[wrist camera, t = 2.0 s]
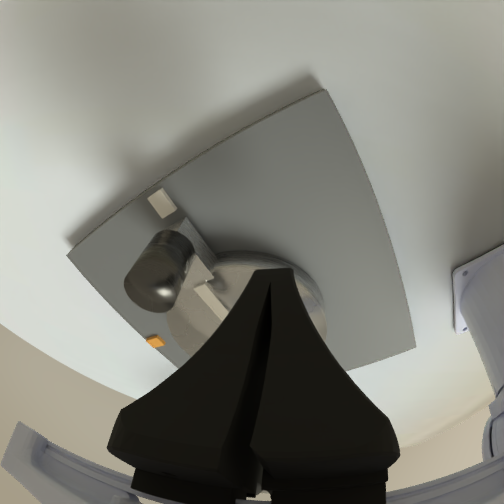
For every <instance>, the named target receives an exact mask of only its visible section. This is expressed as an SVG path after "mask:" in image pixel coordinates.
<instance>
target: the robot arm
mask: <svg viewBox="0 0 504 504" xmlns="http://www.w3.org/2000/svg"><path fill="white" fill-rule="evenodd" d="M464 271H465V272H464ZM452 277H453V292H454V323H455V330H454V331H455V333H456V334H457V335H459V334H462V333H464V332H466V331H468V330H469V331H470V333H471V335H472V338H473V340H474V342H475V345H476V347H477V349H478V352H479V354H480V356H481V359H482V361H483V364H484V366H485V369H486V372H487V374H488V377H489V380H490V383H491V386H492V388H493V391H494V394H495V398H496V399H495V400H494V401H493V402H492V403H491V404H489V409H490V413H491V416H490V418H489V419H488V421H487V422H486V425H485V428H484V433H483V439H482V455H483V462H481V463H479V464H476V465H474V466H472V467H469V468H467V469H464V470H462V471H459V472H456V473H454V474H451V475H448V476H445V477H442V478H439V479H436V480H433V481H430V482H426V483H423V484H419V485H415V486H412V487H408V488H404V489H399V490H395V491H390V492H386V483H385V482H386V481H388V469H387V468H389V467H390V466H391V465H392V464H394V463H395V462H396V461H397V459H398V458H399V457H400V449H399V444H398V441H397V437H396V434H395V432H394V429H393V427H392V425H391V422H390V420H389V418H388V417H387V416H386V415H385V414H384V413H383V412H382V411H381V410H379V409H378V408H377V407H376V406H375V405H374V404H373V403H372V401H371V400H370V399H369V398H368V397H367V396H366V395H365V394H364V393H363V392H362V391H361V390H360V389H359V387H358V386H357V385H356V384H355V383H354V382H353V380H352V379H351V378H350V377H349V375H348V374H347V373H346V372H345V370H344V369H343V368H342V367H341V365H340V364H339V363H338V361H337V360H336V359H335V357H334V356H333V354H332V353H331V351H330V350H329V349H328V347H327V345H326V344H325V342H324V341H323V339H322V338H321V336H320V334H319V333H318V331H317V329H316V327H315V325H314V324H313V322H312V320H311V318H310V316H309V314H308V312H307V310H306V308H305V305H304V303H303V301H302V299H301V296H300V294H299V291H298V288H297V285H296V282H295V278H294V270H293V269H292V268H274V269H257V270H255V271H254V272H253V274H252V276H251V278H250V280H249V282H248V283H247V285H246V287H245V289H244V290H243V292H242V294H241V295H240V297H239V298H238V300H237V301H236V303H235V304H234V306H233V308H232V309H231V311H230V312H229V313H228V315H227V316H226V317H225V319H224V320H223V321H222V323H221V324H220V325H219V327H218V328H217V329H216V331H215V332H214V333H213V334H212V335H211V337H210V338H209V339H208V340H207V341H206V342H205V343H204V344H203V346H202V347H201V348H200V349H199V350H198V351H197V352H196V353H195V354H194V355H193V356H192V357H191V358H190V359H189V360H188V361H187V362H186V363H185V364H184V365H182V366H181V367H180V368H179V369H178V370H177V371H176V372H175V373H173V374H172V375H171V376H169V377H168V378H167V379H166V380H164V381H163V382H162V383H161V384H159V385H158V386H157V387H156V388H154V389H153V390H151V391H150V392H149V393H147V394H145V395H144V396H142V397H141V398H139V399H138V400H136V401H134V402H133V403H131V404H130V405H128V406H126V407H125V408H123V409H121V411H120V413H119V415H118V417H117V419H116V422H115V425H114V427H113V430H112V433H111V436H110V439H109V442H108V446H107V449H108V451H109V452H110V453H111V454H112V455H114V456H115V457H117V458H119V459H121V460H122V461H124V462H126V463H127V464H129V465H131V466H133V467H135V468H136V469H135V473H134V476H133V477H131V476H128V475H126V474H122V473H120V472H117V471H114V470H112V469H109V468H106V467H103V466H101V465H99V464H96V463H94V462H91V461H89V460H87V459H85V458H82V457H80V456H78V455H76V454H74V453H71V452H69V451H67V450H66V449H64V448H62V447H60V446H58V445H56V444H54V443H52V442H50V441H48V440H47V439H46V438H45V437H44V436H42V435H41V434H39V433H38V432H36V431H35V430H33V429H31V428H30V427H28V426H26V425H25V424H23V423H21V422H20V421H19V422H18V423H17V425H16V427H15V429H14V432H13V434H12V436H11V439H10V441H9V444H8V446H7V449H6V451H5V454H4V456H3V459H2V462H1V466H2V467H3V468H4V469H5V470H6V471H8V472H9V473H10V474H11V475H12V476H13V477H14V478H15V479H16V480H18V481H19V482H20V483H21V484H22V485H23V486H24V487H25V488H26V489H27V490H28V491H29V492H30V493H31V494H32V495H33V496H34V497H35V498H36V499H37V500H39V501H40V502H41V503H42V504H142V503H141V502H140V501H139V499H138V497H137V496H140V497H143V498H146V499H149V500H153V501H156V502H160V503H163V504H504V244H503V245H501V246H499V247H498V248H496V249H494V250H492V251H490V252H488V253H486V254H484V255H483V256H481V257H479V258H477V259H475V260H473V261H471V262H469V263H467V264H465V265H463V266H461V267H458V268H457V269H455V270H454V272H453V274H452ZM263 490H265V491H268V492H269V493H270V495H271V499H272V500H271V501H254V500H246V497H252V498H255V497H256V495H258V494H259V493H261V492H262V491H263ZM136 495H137V496H136Z"/></svg>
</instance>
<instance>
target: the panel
mask: <svg viewBox="0 0 504 504" xmlns="http://www.w3.org/2000/svg"><path fill="white" fill-rule="evenodd" d="M185 217H187V218H188V220H189V221H190V222H191V224H192V225H193V226H194V228H195V229H196V231H197V232H198V233H199V235H200V236H201V237H202V239H203V240H204V241H205V243H206V244H207V245H208V247H209V248H210V249H211V251H212V252H213V253H214V254H218V253H222V252H228V251H255V252H261V253H266V254H270V255H273V256H276V257H279V258H282V259H284V260H286V261H288V262H290V263H292V264H294V265H295V266H297V267H299V268H300V269H302V270H303V271H304V272H305V273H306V274H308V275H309V276H310V277H311V279H312V280H313V281H314V282H315V283H316V285H317V286H318V288H319V289H320V292H321V294H322V296H323V300H324V305H325V314H326V324H327V336H326V340H325V344H326V345H327V347H328V349H329V350H330V351H331V353H332V354H333V356H334V357H335V359H336V360H337V361H338V363H339V364H340V365H341V367H342V368H343V369H344V370H345V371H348V370H352V369H355V368H358V367H362V366H365V365H368V364H371V363H374V362H377V361H380V360H383V359H386V358H389V357H392V356H394V355H397V354H400V353H403V352H405V351H408V350H410V349H413V348H416V342H415V337H414V331H413V326H412V321H411V316H410V312H409V307H408V303H407V299H406V294H405V290H404V286H403V282H402V278H401V275H400V271H399V267H398V264H397V260H396V257H395V253H394V250H393V247H392V244H391V240H390V237H389V234H388V231H387V228H386V225H385V222H384V219H383V216H382V213H381V210H380V208H379V205H378V202H377V199H376V197H375V194H374V191H373V189H372V186H371V184H370V181H369V179H368V176H367V174H366V171H365V169H364V166H363V164H362V162H361V159H360V157H359V155H358V152H357V150H356V148H355V146H354V143H353V141H352V139H351V137H350V135H349V133H348V131H347V128H346V126H345V124H344V122H343V120H342V118H341V116H340V114H339V112H338V110H337V108H336V106H335V104H334V103H333V101H332V99H331V97H330V95H329V93H328V91H327V90H325V89H322V90H320V91H318V92H316V93H313V94H311V95H309V96H307V97H305V98H303V99H300V100H298V101H296V102H294V103H292V104H290V105H288V106H286V107H284V108H282V109H280V110H278V111H276V112H274V113H272V114H270V115H268V116H266V117H264V118H262V119H261V120H259V121H257V122H255V123H253V124H251V125H249V126H248V127H246V128H244V129H242V130H240V131H239V132H237V133H235V134H233V135H232V136H230V137H228V138H226V139H225V140H223V141H221V142H220V143H218V144H216V145H215V146H213V147H211V148H210V149H208V150H206V151H205V152H203V153H201V154H200V155H198V156H197V157H195V158H194V159H192V160H190V161H189V162H187V163H186V164H184V165H183V166H181V167H180V168H178V169H177V170H175V171H174V172H172V173H171V174H169V175H168V176H166V177H165V178H163V179H162V180H160V181H159V182H157V183H156V184H154V185H153V186H152V187H150V188H149V189H147V190H146V191H145V192H143V193H142V194H140V195H139V196H138V197H136V198H135V199H134V200H132V201H131V202H130V203H128V204H127V205H126V206H124V207H123V208H122V209H120V210H119V211H118V212H116V213H115V214H114V215H112V216H111V217H110V218H109V219H107V220H106V221H105V222H104V223H102V224H101V225H100V226H99V227H97V228H96V229H95V230H94V231H93V232H91V233H90V234H89V235H88V236H87V237H85V238H84V239H83V240H82V241H81V242H79V243H78V244H77V245H76V246H75V247H74V248H73V249H72V250H71V251H70V252H69V253H68V254H67V255H66V256H67V257H68V258H69V259H70V261H71V262H72V263H73V264H74V265H75V267H76V268H77V269H78V270H79V271H80V272H81V274H82V275H83V276H84V277H85V278H86V279H87V280H88V281H89V283H90V284H91V285H92V286H93V287H94V288H95V289H96V290H97V291H98V293H99V294H100V295H101V296H102V297H103V298H104V299H105V300H106V301H107V302H108V303H109V304H110V305H111V306H112V307H113V308H114V309H115V310H116V311H117V312H118V313H119V314H120V315H121V316H122V317H123V318H124V319H125V320H126V321H127V322H128V323H129V324H130V325H131V326H132V327H133V328H134V329H135V330H136V331H137V332H138V333H139V334H140V335H141V336H142V337H143V338H144V339H146V341H147V342H148V343H149V344H150V345H151V346H152V347H153V348H155V349H157V350H158V351H159V352H160V353H161V354H162V355H163V356H165V357H166V358H167V359H168V360H169V361H170V362H172V363H173V364H174V365H175V366H176V367H177V368H180V367H181V366H182V365H184V364H185V363H186V362H187V361H188V360H189V359H190V358H191V356H190V355H189V354H188V353H186V352H185V351H184V350H183V349H182V348H181V347H180V346H179V345H178V343H177V342H176V341H175V339H174V338H173V336H172V334H171V332H170V330H169V327H168V323H167V312H164V313H154V312H150V311H147V310H144V309H142V308H141V307H139V306H137V305H136V304H135V303H134V302H133V301H132V300H131V299H130V298H129V297H128V295H127V293H126V291H125V289H124V279H125V277H126V275H127V274H128V272H129V271H130V269H131V268H132V266H133V265H134V263H135V262H136V261H137V259H138V258H139V256H140V255H141V253H142V252H143V251H144V249H145V248H146V246H147V245H148V243H149V242H150V241H151V239H152V238H153V237H154V235H155V234H156V233H158V232H160V231H162V230H164V229H166V228H167V227H169V226H171V225H173V224H174V223H176V222H178V221H180V220H181V219H183V218H185Z"/></svg>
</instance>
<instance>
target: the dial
mask: <svg viewBox="0 0 504 504" xmlns="http://www.w3.org/2000/svg"><path fill="white" fill-rule="evenodd" d="M274 268H292V269H293V270H294V278H295V282H296V285H297V288H298V291H299V294H300V296H301V299H302V301H303V303H304V305H305V308H306V310H307V312H308V314H309V316H310V318H311V320H312V322H313V324H314V325H315V327H316V329H317V331H318V333H319V334H320V336H321V338H322V339H323V341H324V342H325V340H326V336H327V324H326V314H325V305H324V300H323V296H322V294H321V292H320V289H319V288H318V286H317V285H316V283H315V282H314V281H313V280H312V279H311V277H310V276H309V275H308V274H306V273H305V272H304V271H303V270H302V269H300V268H299V267H297V266H295V265H294V264H292V263H290V262H288V261H286V260H284V259H282V258H279V257H276V256H273V255H270V254H266V253H261V252H255V251H228V252H222V253H218V254H214V253H213V252H212V251H211V249H210V248H209V247H208V245H207V244H206V243H205V241H204V240H203V239H202V237H201V236H200V235H199V233H198V232H197V231H196V229H195V228H194V226H193V225H192V224H191V222H190V221H189V220H188V218H187V217H185V218H183V219H181V220H180V221H178V222H176V223H174V224H173V225H171V226H169V227H167V228H166V229H164V230H162V231H160V232H158V233H156V234H155V235H154V237H153V238H152V239H151V241H150V242H149V243H148V245H147V246H146V248H145V249H144V251H143V252H142V253H141V255H140V256H139V258H138V259H137V261H136V262H135V263H134V265H133V266H132V268H131V269H130V271H129V272H128V274H127V275H126V277H125V279H124V289H125V291H126V293H127V295H128V297H129V298H130V299H131V300H132V301H133V302H134V303H135V304H136V305H137V306H139V307H141V308H142V309H144V310H147V311H150V312H154V313H164V312H167V323H168V327H169V330H170V332H171V334H172V336H173V338H174V339H175V341H176V342H177V343H178V345H179V346H180V347H181V348H182V349H183V350H184V351H185V352H186V353H188V354H189V355H190V356H191V357H192V356H193V355H194V354H195V353H196V352H197V351H198V350H199V349H200V348H201V347H202V346H203V344H204V343H205V342H206V341H207V340H208V339H209V338H210V337H211V335H212V334H213V333H214V332H215V331H216V329H217V328H218V327H219V325H220V324H221V323H222V321H223V320H224V319H225V317H226V316H227V315H228V313H229V312H230V311H231V309H232V308H233V306H234V304H235V303H236V301H237V300H238V298H239V297H240V295H241V294H242V292H243V290H244V289H245V287H246V285H247V283H248V282H249V280H250V278H251V276H252V274H253V272H254V271H255V270H257V269H274Z"/></svg>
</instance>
